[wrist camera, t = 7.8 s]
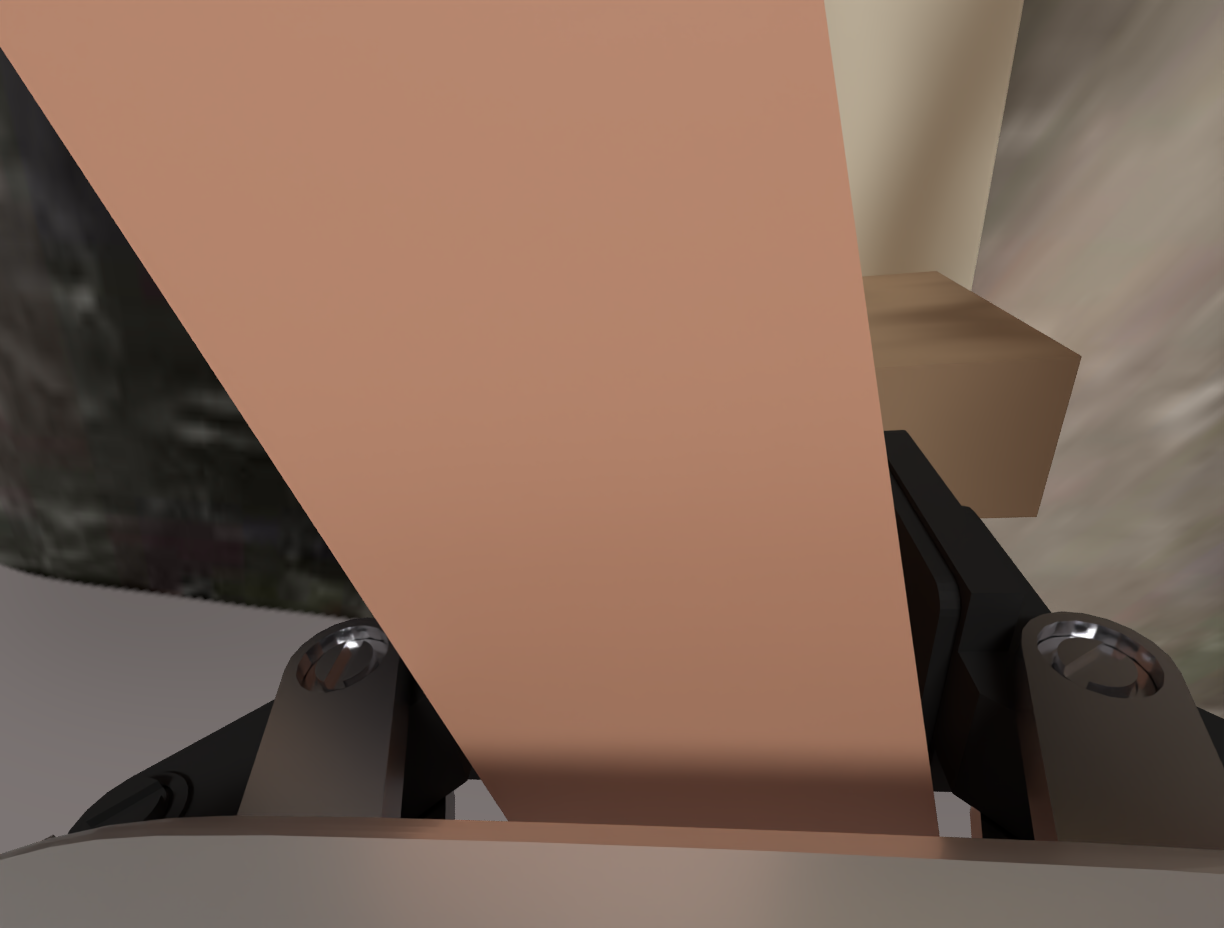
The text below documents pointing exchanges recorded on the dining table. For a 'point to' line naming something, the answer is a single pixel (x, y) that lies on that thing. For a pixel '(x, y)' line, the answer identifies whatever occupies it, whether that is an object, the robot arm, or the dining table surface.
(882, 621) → the beam
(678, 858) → the robot arm
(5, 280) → the dining table surface
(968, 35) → the stand
